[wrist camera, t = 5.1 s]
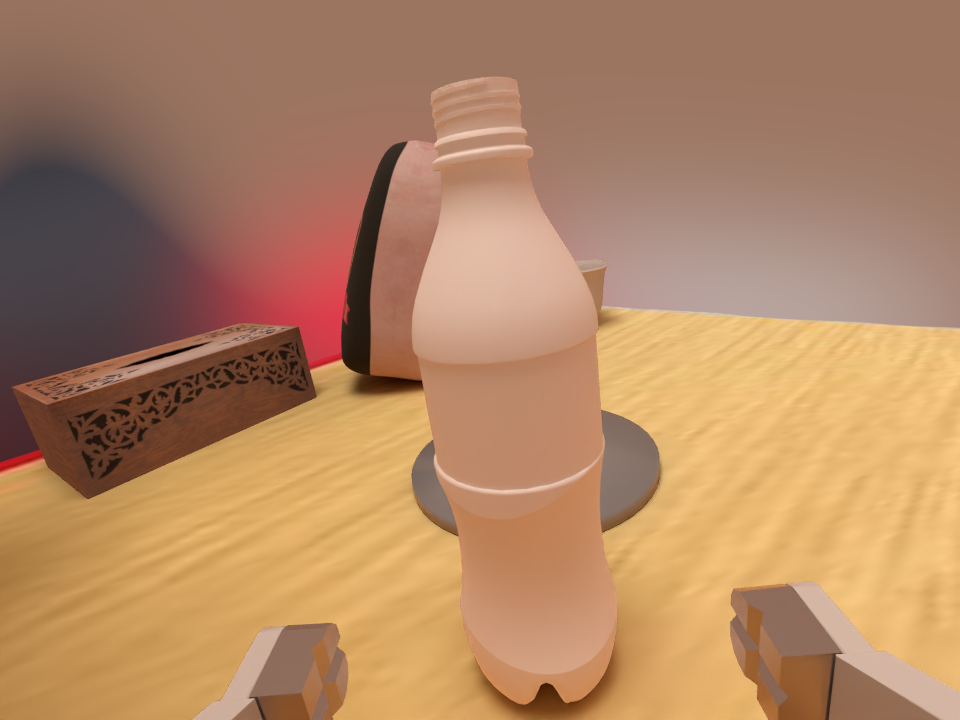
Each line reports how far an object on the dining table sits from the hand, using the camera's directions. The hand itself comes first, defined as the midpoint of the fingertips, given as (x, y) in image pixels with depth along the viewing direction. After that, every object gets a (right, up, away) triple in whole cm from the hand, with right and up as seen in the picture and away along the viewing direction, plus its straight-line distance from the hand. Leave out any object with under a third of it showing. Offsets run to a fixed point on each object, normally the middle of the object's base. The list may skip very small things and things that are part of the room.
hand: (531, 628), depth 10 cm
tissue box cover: (-36, -3, +50) cm, 62 cm away
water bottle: (+2, -9, +14) cm, 17 cm away
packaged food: (-9, +4, +61) cm, 62 cm away
